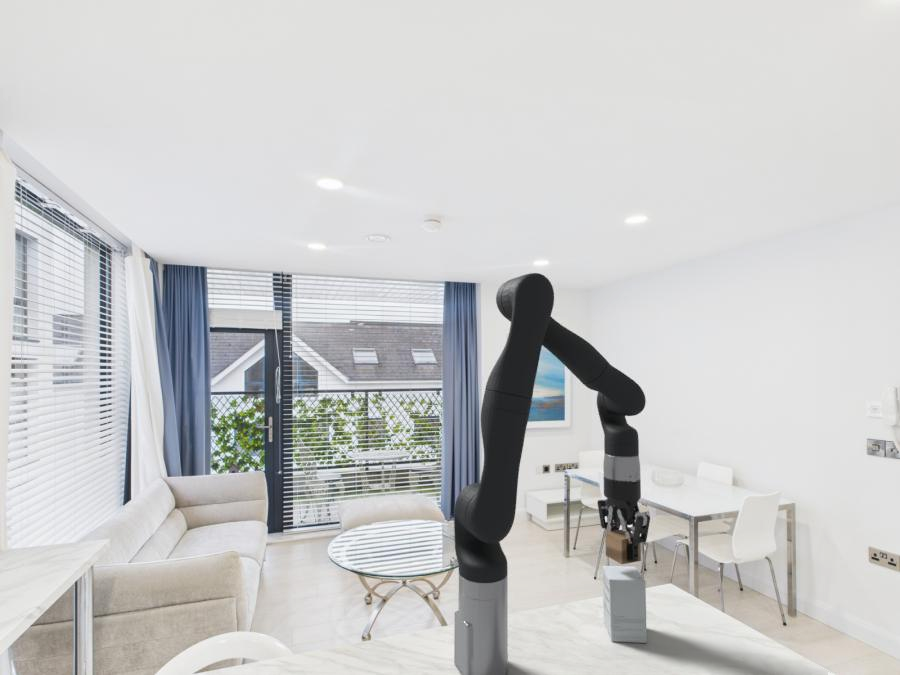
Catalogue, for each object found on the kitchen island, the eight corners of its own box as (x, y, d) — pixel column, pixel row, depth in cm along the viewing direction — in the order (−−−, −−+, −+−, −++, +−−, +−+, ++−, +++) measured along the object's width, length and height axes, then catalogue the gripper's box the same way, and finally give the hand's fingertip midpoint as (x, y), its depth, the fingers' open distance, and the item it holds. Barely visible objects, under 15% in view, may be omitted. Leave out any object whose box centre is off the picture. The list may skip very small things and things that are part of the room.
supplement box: (637, 625, 108) (636, 565, 109) (647, 644, 101) (646, 580, 101) (602, 623, 109) (601, 564, 109) (610, 642, 101) (609, 578, 102)
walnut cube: (621, 564, 102) (621, 539, 103) (605, 555, 107) (605, 531, 107) (640, 560, 104) (640, 536, 104) (624, 552, 109) (624, 529, 109)
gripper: (586, 470, 112) (587, 547, 111) (631, 484, 98) (632, 572, 97) (613, 467, 114) (614, 542, 114) (660, 481, 101) (662, 566, 100)
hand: (623, 555), depth 105 cm, fingers closed on walnut cube, 5 cm apart
